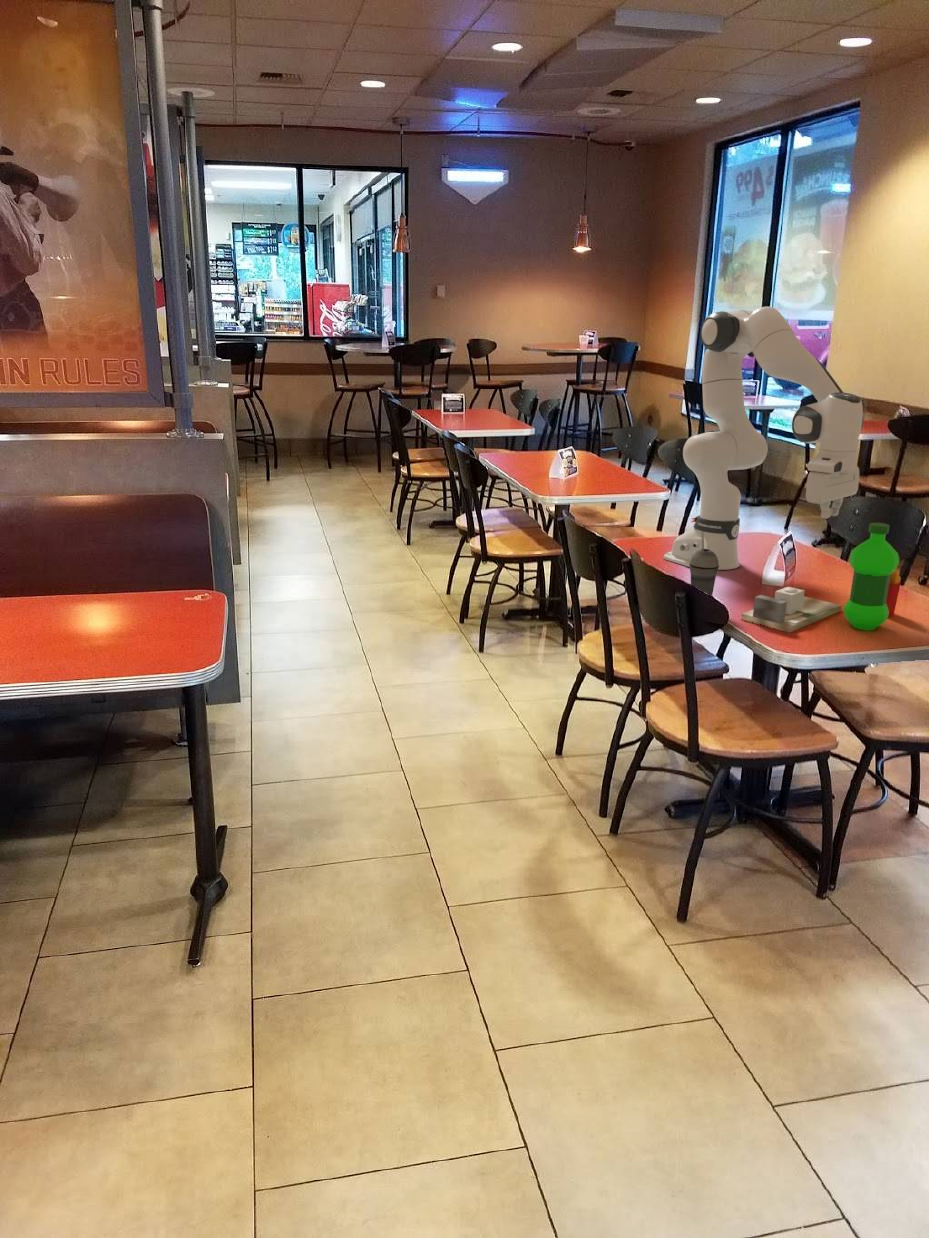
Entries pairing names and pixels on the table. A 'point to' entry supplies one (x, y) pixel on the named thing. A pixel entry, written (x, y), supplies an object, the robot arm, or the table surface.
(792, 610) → the block
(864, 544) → the plastic bottle
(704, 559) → the beverage cup
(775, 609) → the frame
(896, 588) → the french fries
